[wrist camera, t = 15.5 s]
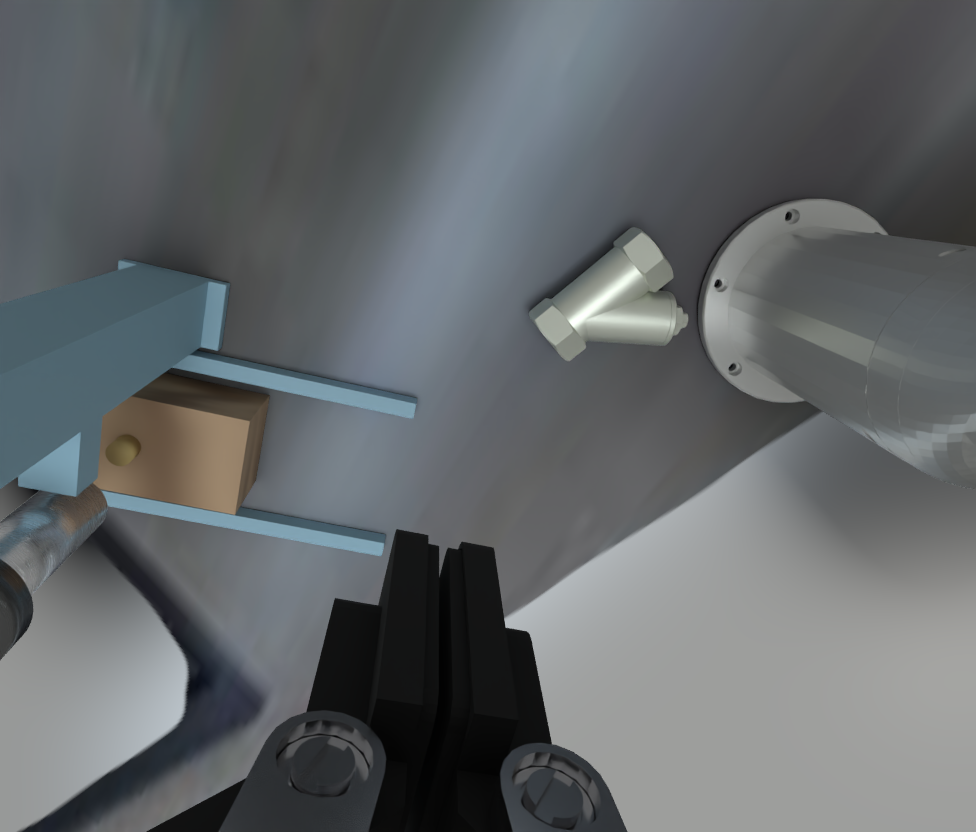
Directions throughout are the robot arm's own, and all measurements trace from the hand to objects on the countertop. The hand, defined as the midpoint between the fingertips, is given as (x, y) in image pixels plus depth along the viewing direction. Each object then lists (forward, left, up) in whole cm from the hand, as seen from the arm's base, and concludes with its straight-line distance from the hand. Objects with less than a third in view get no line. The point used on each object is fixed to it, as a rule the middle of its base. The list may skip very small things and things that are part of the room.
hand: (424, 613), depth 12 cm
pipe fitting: (-11, -2, -33) cm, 34 cm away
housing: (+13, +11, -32) cm, 37 cm away
